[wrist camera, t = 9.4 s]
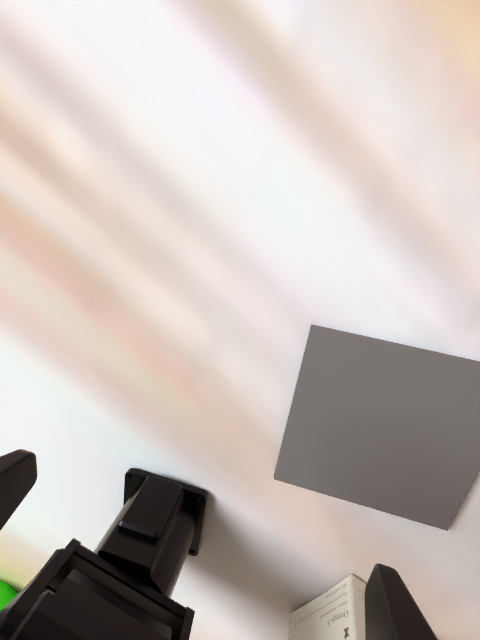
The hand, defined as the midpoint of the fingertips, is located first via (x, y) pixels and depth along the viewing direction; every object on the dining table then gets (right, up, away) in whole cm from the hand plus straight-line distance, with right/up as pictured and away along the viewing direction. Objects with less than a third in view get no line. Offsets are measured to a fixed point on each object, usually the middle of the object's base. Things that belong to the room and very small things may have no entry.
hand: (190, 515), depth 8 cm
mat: (+10, -2, +12) cm, 15 cm away
